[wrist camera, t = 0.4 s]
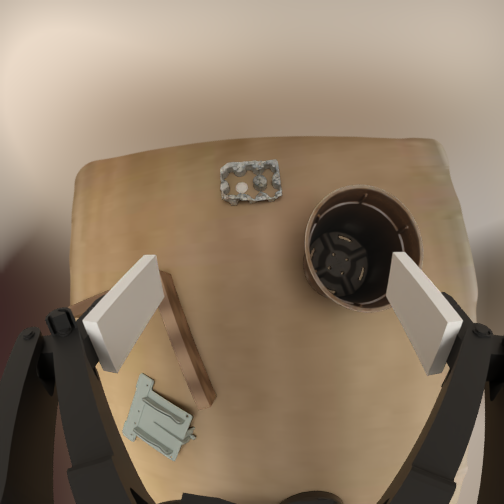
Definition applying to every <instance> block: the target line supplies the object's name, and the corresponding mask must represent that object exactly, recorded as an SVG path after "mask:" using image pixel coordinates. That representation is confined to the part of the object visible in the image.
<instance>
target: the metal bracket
mask: <svg viewBox="0 0 504 504" xmlns="http://www.w3.org/2000/svg"><path fill="white" fill-rule="evenodd" d="M153 384H154V380H152V379H151V378H149V377H148V376H146V375H145V374H143V373H141V374H140V376H139V379H138V382H137V385H136V388H137V389H136V392H135V395H134V399H133V402H132V405H131V408H130V412H129V415H128V418H127V421H125V424H124V427H123V435H124V436H125V437H127V438H128V439H129V440H131V441H133V442H134V441H135V438H136V436H138V437H139V438H140V439H142V440H143V441H145V442H146V443H147V444H149V445H150V446H152V447H153V448H154V449H156V450H157V451H159V452H160V453H162V454H163V455H165V456H166V457H168V458H169V459H171V460H172V461H175V460H176V458H177V455H178V453H179V450H180V448H181V446H182V445H184V444H186V443H187V442H189V440H190V438H191V439H193V440H195V438H196V436H194V435H192V433H193V430H194V428H195V427H193V428H190V429H188V428H189V425H190V423H191V420H192V415H191V414H189V413H187V412H185V411H184V410H182V409H180V408H179V407H177V406H176V405H174V404H172V403H171V402H169V401H168V400H166V399H164V398H163V397H161V396H160V395H158V394H157V393H155V392H154V391H152V387H153ZM147 385H148V386H147ZM139 411H140V412H139ZM186 415H188V416H189V417H187V416H186ZM135 423H136V424H135ZM131 434H132V435H131ZM171 456H172V458H171Z"/></svg>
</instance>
